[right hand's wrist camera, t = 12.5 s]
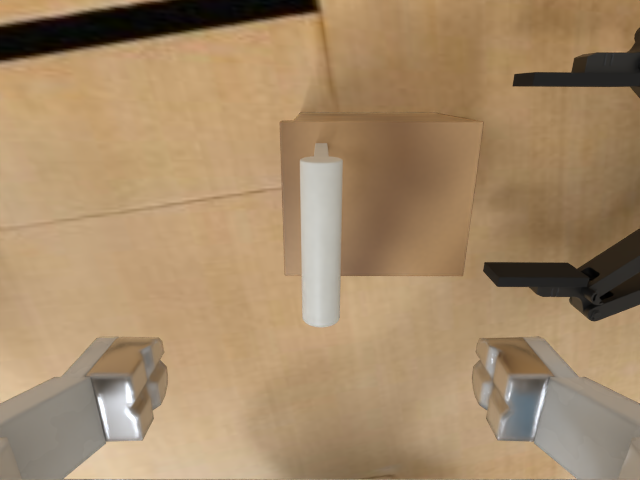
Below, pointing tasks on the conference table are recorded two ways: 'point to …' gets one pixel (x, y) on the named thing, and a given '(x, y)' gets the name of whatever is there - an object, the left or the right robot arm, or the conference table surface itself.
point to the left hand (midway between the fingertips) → (504, 185)
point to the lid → (374, 202)
